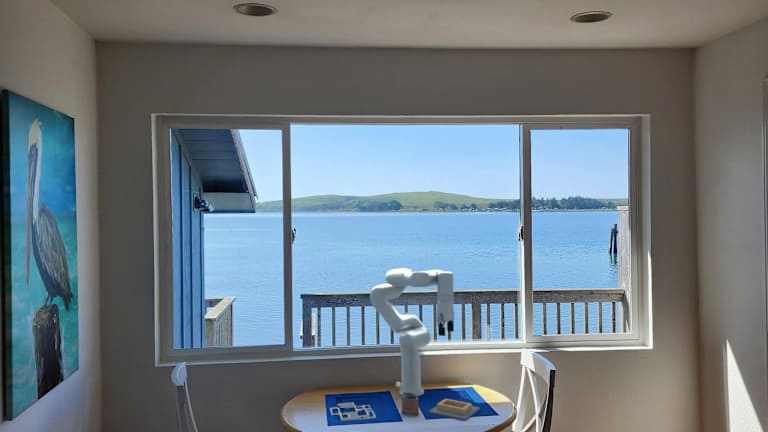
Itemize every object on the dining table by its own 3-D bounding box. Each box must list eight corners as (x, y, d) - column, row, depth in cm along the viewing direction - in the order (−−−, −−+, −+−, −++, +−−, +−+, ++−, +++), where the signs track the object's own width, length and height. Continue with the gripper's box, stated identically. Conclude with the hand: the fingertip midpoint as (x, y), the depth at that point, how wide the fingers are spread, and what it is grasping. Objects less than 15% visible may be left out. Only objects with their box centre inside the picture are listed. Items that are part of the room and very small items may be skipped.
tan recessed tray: (428, 413, 268) (428, 405, 268) (445, 402, 281) (444, 395, 281) (464, 420, 258) (464, 412, 258) (479, 409, 271) (479, 402, 271)
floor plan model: (316, 409, 276) (316, 405, 276) (368, 405, 281) (368, 400, 281) (320, 424, 258) (320, 420, 258) (376, 419, 263) (375, 414, 263)
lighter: (419, 413, 268) (419, 391, 267) (417, 416, 264) (417, 394, 264) (402, 411, 270) (402, 390, 270) (400, 414, 267) (400, 392, 267)
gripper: (445, 294, 288) (446, 328, 288) (430, 299, 273) (431, 336, 273) (460, 295, 284) (460, 330, 284) (445, 300, 269) (445, 338, 270)
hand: (446, 333), depth 279 cm, fingers open, 9 cm apart
